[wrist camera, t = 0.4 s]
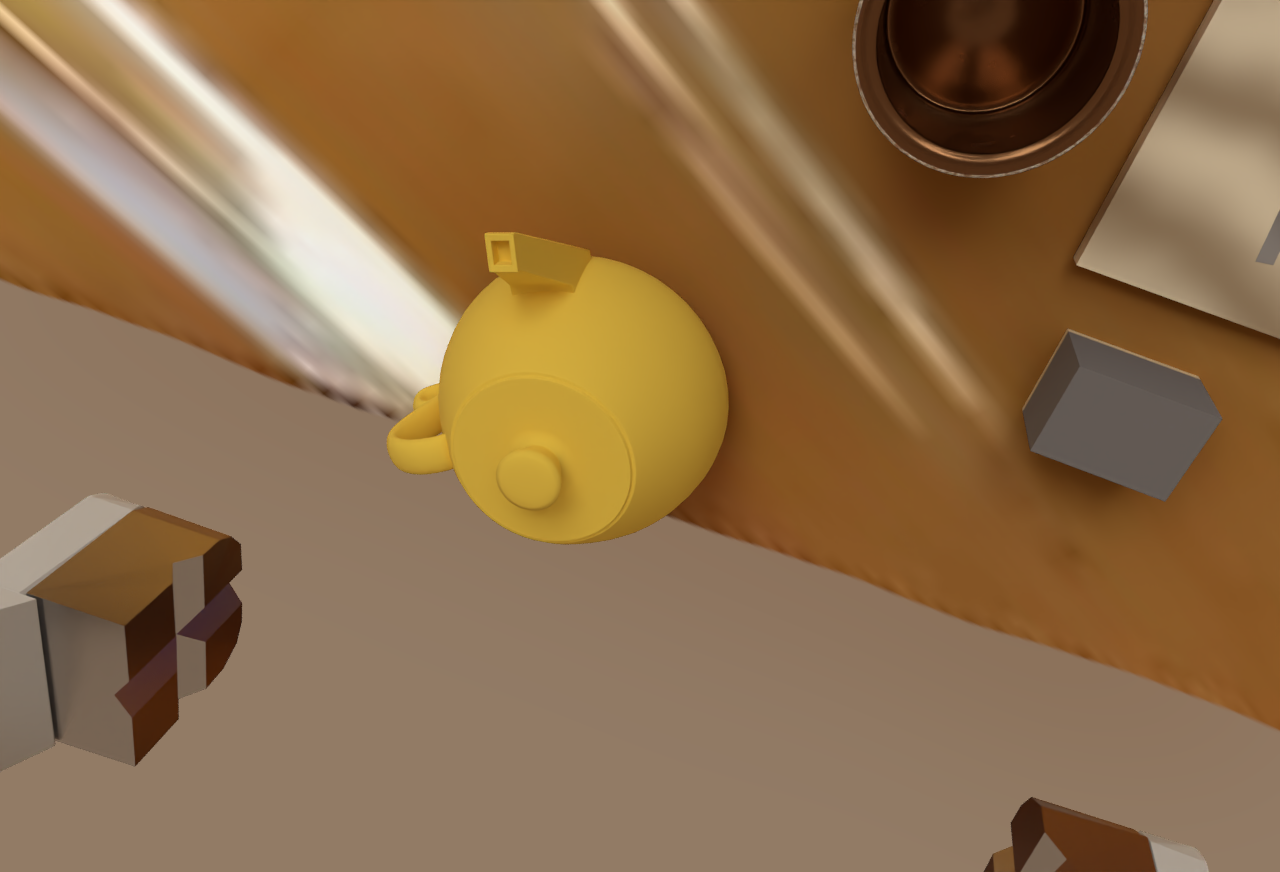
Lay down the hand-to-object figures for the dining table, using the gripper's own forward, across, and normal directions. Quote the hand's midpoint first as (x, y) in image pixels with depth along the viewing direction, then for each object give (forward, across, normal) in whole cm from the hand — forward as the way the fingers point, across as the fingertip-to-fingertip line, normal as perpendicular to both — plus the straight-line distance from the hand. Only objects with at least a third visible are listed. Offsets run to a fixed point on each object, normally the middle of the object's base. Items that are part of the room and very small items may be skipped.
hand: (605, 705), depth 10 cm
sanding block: (+46, -18, +13) cm, 51 cm away
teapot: (+46, +11, +19) cm, 51 cm away
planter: (+46, -5, -4) cm, 46 cm away
